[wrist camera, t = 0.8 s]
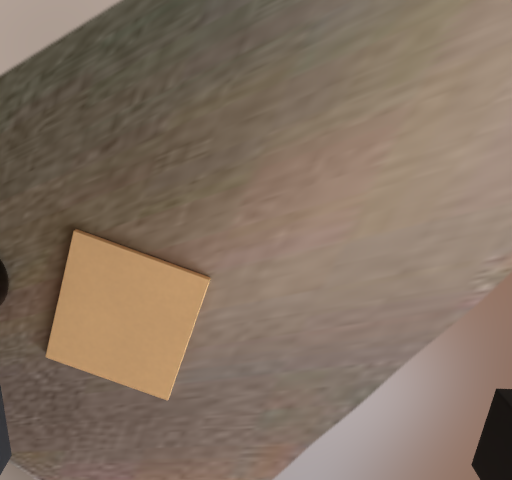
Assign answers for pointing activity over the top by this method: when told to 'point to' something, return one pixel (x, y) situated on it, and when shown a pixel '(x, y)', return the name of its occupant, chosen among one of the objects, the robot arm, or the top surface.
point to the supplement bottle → (3, 282)
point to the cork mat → (124, 314)
